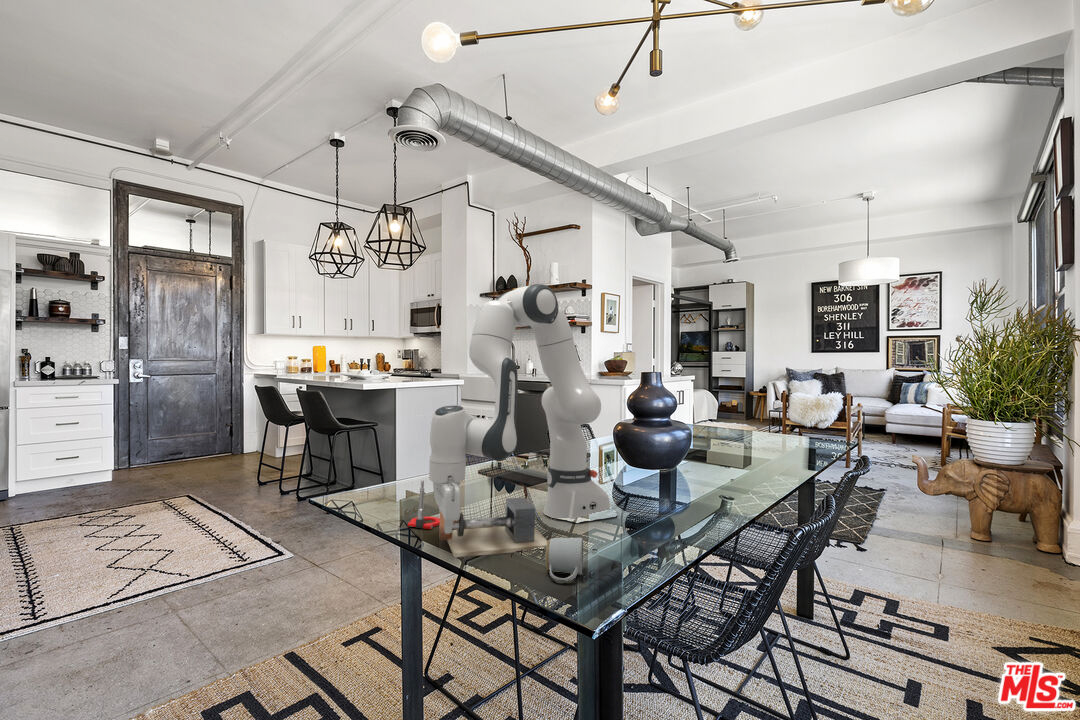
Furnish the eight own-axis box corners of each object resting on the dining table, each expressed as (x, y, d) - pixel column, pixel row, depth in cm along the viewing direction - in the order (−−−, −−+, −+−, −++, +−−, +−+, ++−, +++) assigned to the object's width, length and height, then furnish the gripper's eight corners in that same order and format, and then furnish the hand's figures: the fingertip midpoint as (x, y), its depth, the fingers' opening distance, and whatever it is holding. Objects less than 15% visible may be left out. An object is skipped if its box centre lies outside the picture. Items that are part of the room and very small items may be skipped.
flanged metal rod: (509, 529, 139) (510, 502, 139) (514, 536, 134) (515, 508, 134) (437, 534, 133) (438, 506, 133) (440, 542, 128) (441, 513, 128)
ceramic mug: (547, 563, 122) (548, 530, 122) (583, 566, 121) (584, 533, 121) (542, 584, 111) (543, 548, 111) (581, 587, 111) (582, 551, 110)
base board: (532, 528, 147) (532, 524, 147) (551, 548, 131) (551, 544, 131) (444, 534, 139) (444, 530, 139) (454, 557, 124) (454, 553, 124)
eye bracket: (523, 528, 143) (524, 497, 143) (534, 541, 133) (535, 508, 133) (504, 530, 141) (505, 498, 141) (514, 543, 132) (516, 509, 131)
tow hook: (417, 519, 153) (404, 528, 143) (419, 474, 153) (406, 480, 144) (445, 522, 151) (433, 530, 142) (447, 476, 152) (436, 482, 143)
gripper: (467, 481, 122) (465, 541, 122) (453, 463, 142) (452, 514, 142) (440, 482, 120) (438, 543, 120) (429, 464, 140) (428, 516, 140)
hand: (445, 527), depth 131 cm, fingers open, 5 cm apart
